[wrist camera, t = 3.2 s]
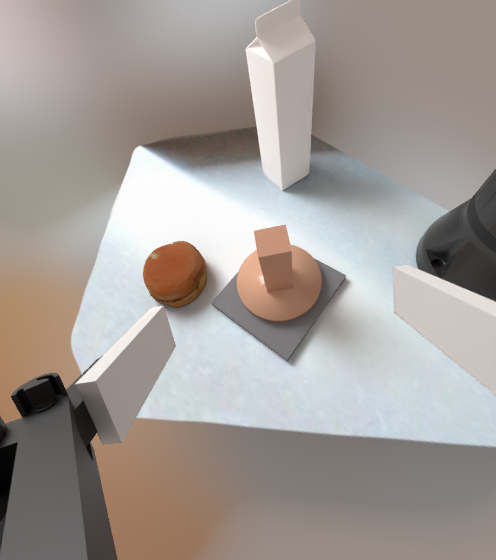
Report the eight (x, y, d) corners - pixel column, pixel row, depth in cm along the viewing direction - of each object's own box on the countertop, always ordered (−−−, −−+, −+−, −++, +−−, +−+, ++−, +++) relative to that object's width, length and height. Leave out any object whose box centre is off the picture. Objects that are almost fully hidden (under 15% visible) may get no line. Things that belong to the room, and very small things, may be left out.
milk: (309, 174, 46) (319, 1, 26) (281, 191, 45) (271, 26, 26) (288, 157, 49) (284, -10, 29) (262, 173, 48) (239, 12, 28)
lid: (330, 314, 33) (343, 278, 24) (242, 328, 34) (223, 299, 25) (310, 241, 38) (314, 190, 29) (235, 256, 40) (216, 211, 31)
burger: (197, 312, 37) (185, 300, 33) (143, 301, 40) (126, 289, 36) (217, 255, 41) (208, 238, 37) (167, 249, 44) (154, 232, 40)
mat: (345, 278, 36) (346, 275, 35) (287, 361, 32) (287, 360, 31) (270, 238, 41) (269, 235, 40) (213, 305, 37) (211, 303, 37)
